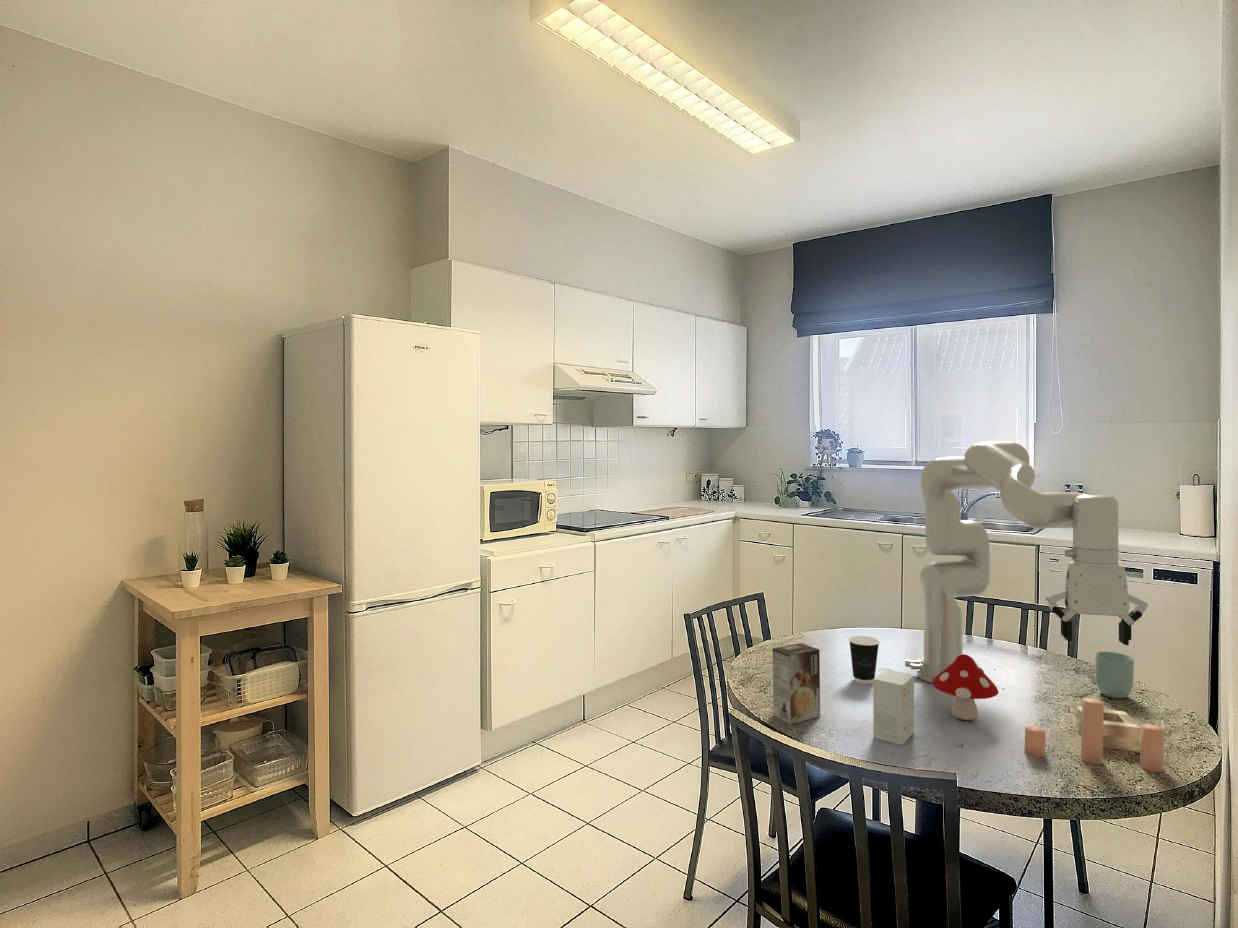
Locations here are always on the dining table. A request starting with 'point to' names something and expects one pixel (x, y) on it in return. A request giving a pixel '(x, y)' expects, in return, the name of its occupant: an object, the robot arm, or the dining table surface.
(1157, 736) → the medium pin
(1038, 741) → the short pin
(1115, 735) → the bore block
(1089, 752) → the long pin
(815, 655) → the coffee box
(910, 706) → the small box
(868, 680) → the dixie cup
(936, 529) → the robot arm
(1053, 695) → the dining table surface
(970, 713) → the decorative mushroom
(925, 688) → the dining table surface
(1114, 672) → the cup
